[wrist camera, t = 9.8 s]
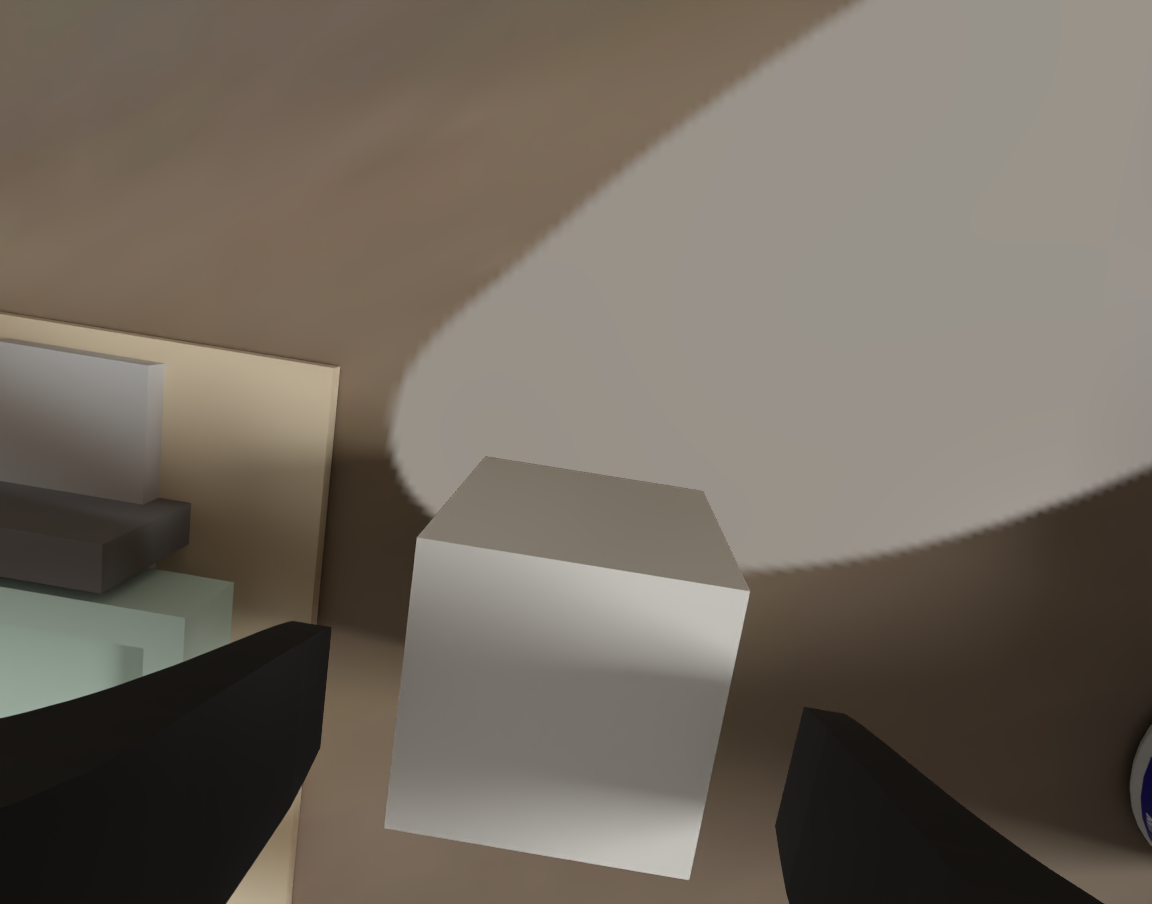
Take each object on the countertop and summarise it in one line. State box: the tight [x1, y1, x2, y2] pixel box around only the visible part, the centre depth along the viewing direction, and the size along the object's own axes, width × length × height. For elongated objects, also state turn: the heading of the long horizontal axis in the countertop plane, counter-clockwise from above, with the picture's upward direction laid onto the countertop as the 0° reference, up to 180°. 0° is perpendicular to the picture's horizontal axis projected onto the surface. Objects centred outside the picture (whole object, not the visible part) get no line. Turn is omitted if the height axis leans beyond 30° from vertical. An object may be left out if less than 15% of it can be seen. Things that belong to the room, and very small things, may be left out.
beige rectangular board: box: [0, 311, 340, 904], centre depth 17 cm, size 21×11×3 cm, turn 171°
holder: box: [0, 568, 234, 718], centre depth 16 cm, size 8×8×2 cm
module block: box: [384, 456, 750, 880], centre depth 14 cm, size 5×5×6 cm
